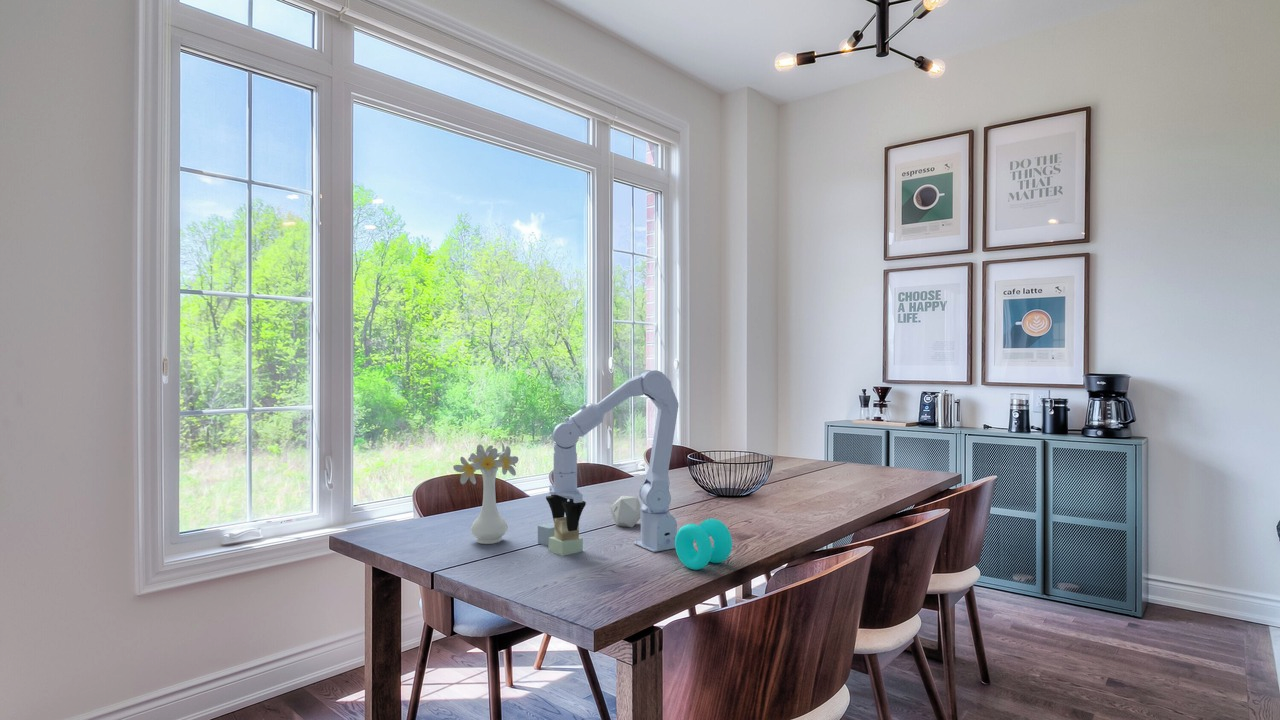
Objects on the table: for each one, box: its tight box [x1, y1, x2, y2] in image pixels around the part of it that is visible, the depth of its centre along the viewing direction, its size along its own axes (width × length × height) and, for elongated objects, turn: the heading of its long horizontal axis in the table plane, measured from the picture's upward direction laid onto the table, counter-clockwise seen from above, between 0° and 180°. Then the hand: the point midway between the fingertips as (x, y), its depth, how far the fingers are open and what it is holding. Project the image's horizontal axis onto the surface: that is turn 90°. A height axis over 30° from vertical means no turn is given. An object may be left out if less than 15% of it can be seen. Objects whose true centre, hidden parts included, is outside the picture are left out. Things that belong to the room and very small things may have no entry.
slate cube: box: [537, 522, 554, 547], centre depth 171 cm, size 4×4×4 cm
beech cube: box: [553, 516, 580, 541], centre depth 164 cm, size 4×4×4 cm
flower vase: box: [452, 442, 519, 545], centre depth 172 cm, size 13×18×25 cm
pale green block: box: [548, 536, 584, 556], centre depth 163 cm, size 6×6×4 cm
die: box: [609, 495, 642, 528], centre depth 189 cm, size 8×9×10 cm
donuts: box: [674, 518, 733, 571], centre depth 151 cm, size 10×10×10 cm
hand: (565, 527), depth 164 cm, fingers open, 7 cm apart
